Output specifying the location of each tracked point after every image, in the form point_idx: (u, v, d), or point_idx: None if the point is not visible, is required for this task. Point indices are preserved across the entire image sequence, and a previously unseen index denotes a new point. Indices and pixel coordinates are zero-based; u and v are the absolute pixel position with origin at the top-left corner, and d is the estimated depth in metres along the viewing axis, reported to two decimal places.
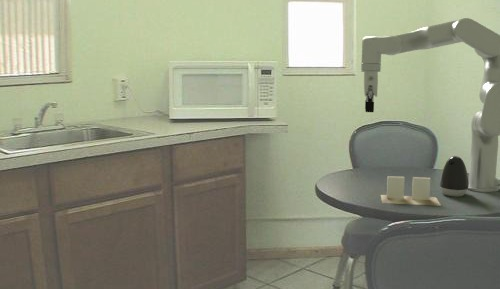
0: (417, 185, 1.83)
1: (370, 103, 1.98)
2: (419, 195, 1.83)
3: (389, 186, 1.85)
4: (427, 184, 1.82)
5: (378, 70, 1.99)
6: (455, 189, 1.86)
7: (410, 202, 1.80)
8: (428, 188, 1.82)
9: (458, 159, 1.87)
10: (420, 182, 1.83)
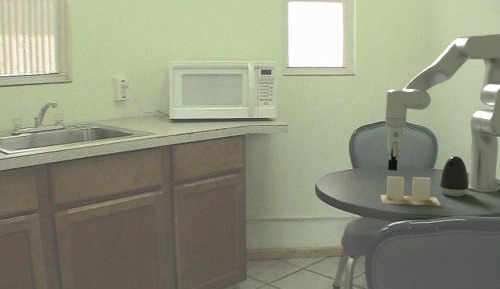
0: (417, 185, 1.83)
1: (393, 161, 1.92)
2: (419, 195, 1.83)
3: (389, 186, 1.85)
4: (427, 184, 1.82)
5: (403, 125, 1.88)
6: (455, 189, 1.86)
7: (410, 202, 1.80)
8: (428, 188, 1.82)
9: (458, 159, 1.87)
10: (420, 182, 1.83)
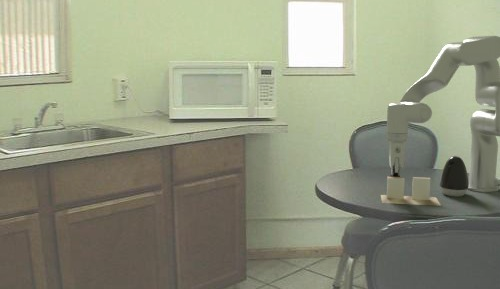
0: (417, 185, 1.83)
1: None
2: (419, 195, 1.83)
3: (389, 187, 1.84)
4: (427, 184, 1.82)
5: (405, 140, 1.82)
6: (455, 189, 1.86)
7: (410, 202, 1.80)
8: (428, 188, 1.82)
9: (458, 159, 1.87)
10: (420, 182, 1.83)
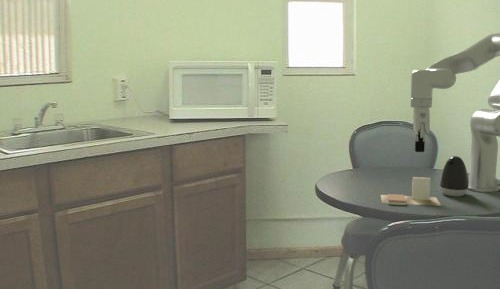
0: (417, 185, 1.83)
1: (421, 143, 1.89)
2: (419, 195, 1.83)
3: None
4: (427, 184, 1.82)
5: (430, 106, 1.85)
6: (455, 189, 1.86)
7: (410, 202, 1.80)
8: (428, 188, 1.82)
9: (458, 159, 1.87)
10: (420, 182, 1.83)
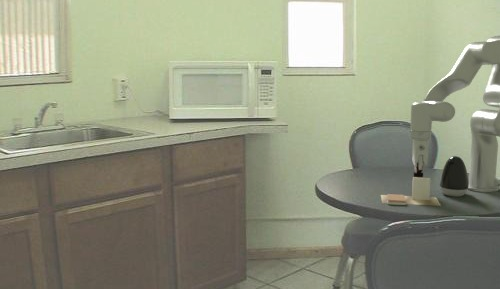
0: (417, 185, 1.83)
1: (419, 174, 1.90)
2: (419, 195, 1.83)
3: None
4: (427, 184, 1.82)
5: (429, 138, 1.86)
6: (455, 189, 1.86)
7: (410, 202, 1.80)
8: (428, 188, 1.82)
9: (458, 159, 1.87)
10: (420, 182, 1.83)
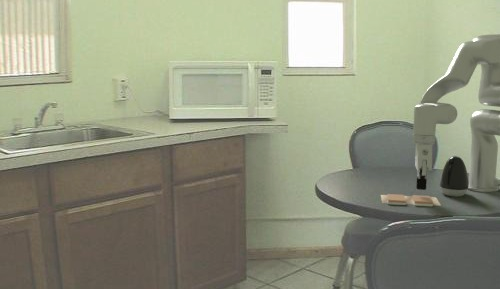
0: None
1: (422, 180, 1.81)
2: None
3: None
4: None
5: (433, 142, 1.77)
6: (455, 189, 1.86)
7: (410, 202, 1.80)
8: None
9: (458, 159, 1.87)
10: None
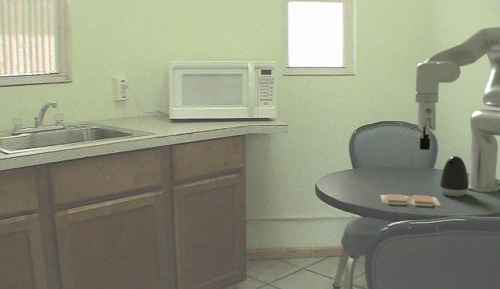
0: None
1: (426, 140, 1.79)
2: None
3: None
4: None
5: (436, 100, 1.75)
6: (455, 189, 1.86)
7: (410, 202, 1.80)
8: None
9: (458, 159, 1.87)
10: None
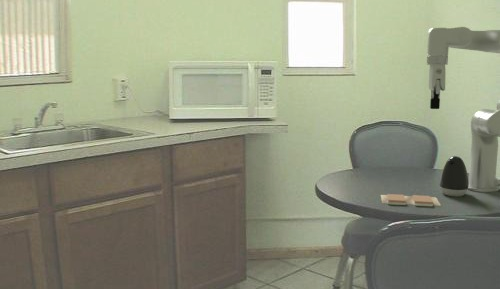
0: None
1: (436, 100, 1.94)
2: None
3: None
4: None
5: (446, 63, 1.90)
6: (455, 189, 1.86)
7: (410, 202, 1.80)
8: None
9: (458, 159, 1.87)
10: None
